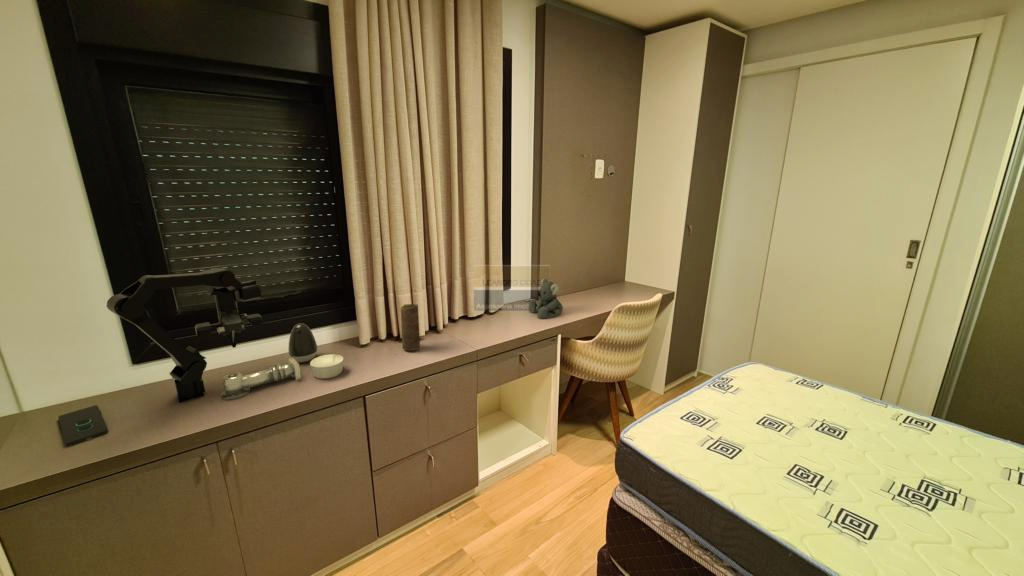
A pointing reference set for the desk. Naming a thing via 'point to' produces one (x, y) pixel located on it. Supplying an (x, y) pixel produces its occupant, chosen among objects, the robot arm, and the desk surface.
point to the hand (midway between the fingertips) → (234, 347)
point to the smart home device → (82, 425)
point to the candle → (410, 327)
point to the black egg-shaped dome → (302, 343)
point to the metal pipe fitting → (283, 372)
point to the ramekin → (327, 366)
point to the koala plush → (546, 301)
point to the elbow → (248, 380)
